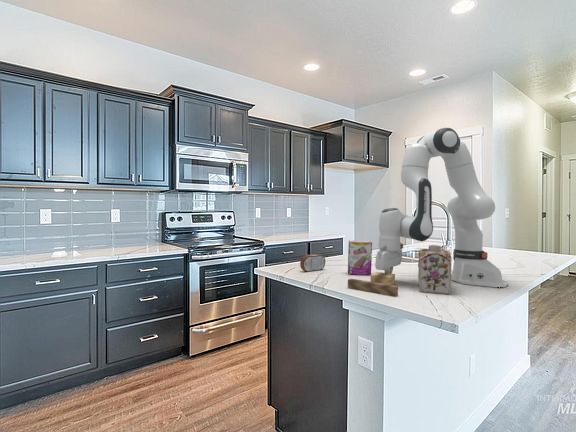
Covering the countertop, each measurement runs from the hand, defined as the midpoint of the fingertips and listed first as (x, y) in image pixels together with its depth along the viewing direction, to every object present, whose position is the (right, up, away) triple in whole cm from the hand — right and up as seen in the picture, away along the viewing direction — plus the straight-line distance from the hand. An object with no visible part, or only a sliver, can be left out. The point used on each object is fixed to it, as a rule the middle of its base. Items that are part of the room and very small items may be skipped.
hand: (388, 277), depth 147 cm
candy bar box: (-8, -2, +20) cm, 21 cm away
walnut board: (-11, -3, -13) cm, 17 cm away
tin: (-31, -2, +27) cm, 41 cm away
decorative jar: (+15, -4, -10) cm, 19 cm away
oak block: (-4, -3, -4) cm, 7 cm away
